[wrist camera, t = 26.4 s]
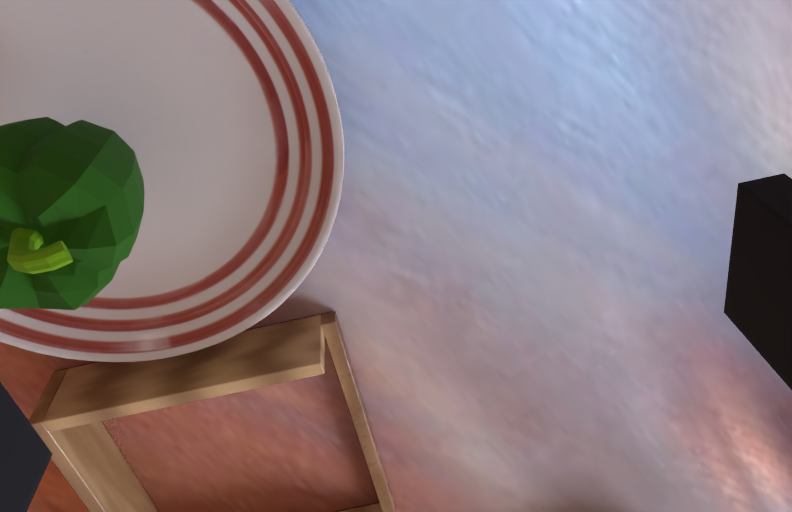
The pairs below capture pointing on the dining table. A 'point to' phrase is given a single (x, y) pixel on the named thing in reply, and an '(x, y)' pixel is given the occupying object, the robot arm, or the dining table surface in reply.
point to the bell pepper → (64, 211)
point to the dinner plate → (184, 161)
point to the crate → (181, 383)
